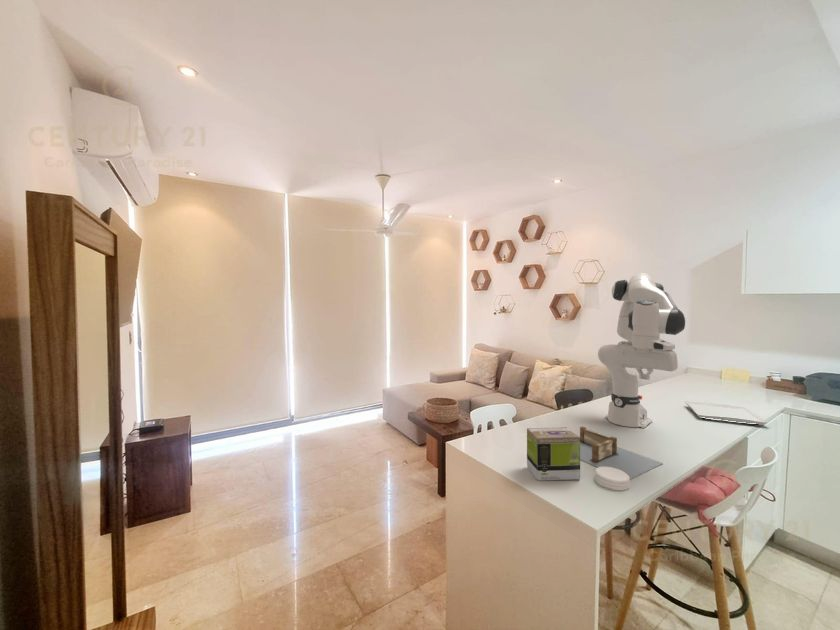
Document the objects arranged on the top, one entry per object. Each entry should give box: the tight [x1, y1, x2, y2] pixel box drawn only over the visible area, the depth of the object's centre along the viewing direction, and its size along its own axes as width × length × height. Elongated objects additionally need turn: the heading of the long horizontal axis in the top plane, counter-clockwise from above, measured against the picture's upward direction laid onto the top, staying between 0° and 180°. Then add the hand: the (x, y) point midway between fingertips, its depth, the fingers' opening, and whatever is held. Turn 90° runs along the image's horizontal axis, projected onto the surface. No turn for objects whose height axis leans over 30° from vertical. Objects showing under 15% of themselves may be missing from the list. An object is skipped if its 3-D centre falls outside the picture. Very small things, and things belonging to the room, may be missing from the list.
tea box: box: [526, 426, 581, 481], centre depth 117 cm, size 15×10×15 cm
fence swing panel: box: [592, 440, 613, 463], centre depth 129 cm, size 13×2×6 cm, turn 123°
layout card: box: [580, 442, 664, 480], centre depth 131 cm, size 24×28×1 cm
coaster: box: [594, 467, 631, 492], centre depth 112 cm, size 10×10×4 cm
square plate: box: [684, 401, 768, 426], centre depth 181 cm, size 27×27×4 cm
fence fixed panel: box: [579, 426, 618, 455], centre depth 139 cm, size 2×15×6 cm, turn 31°
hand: (644, 379), depth 129 cm, fingers closed
